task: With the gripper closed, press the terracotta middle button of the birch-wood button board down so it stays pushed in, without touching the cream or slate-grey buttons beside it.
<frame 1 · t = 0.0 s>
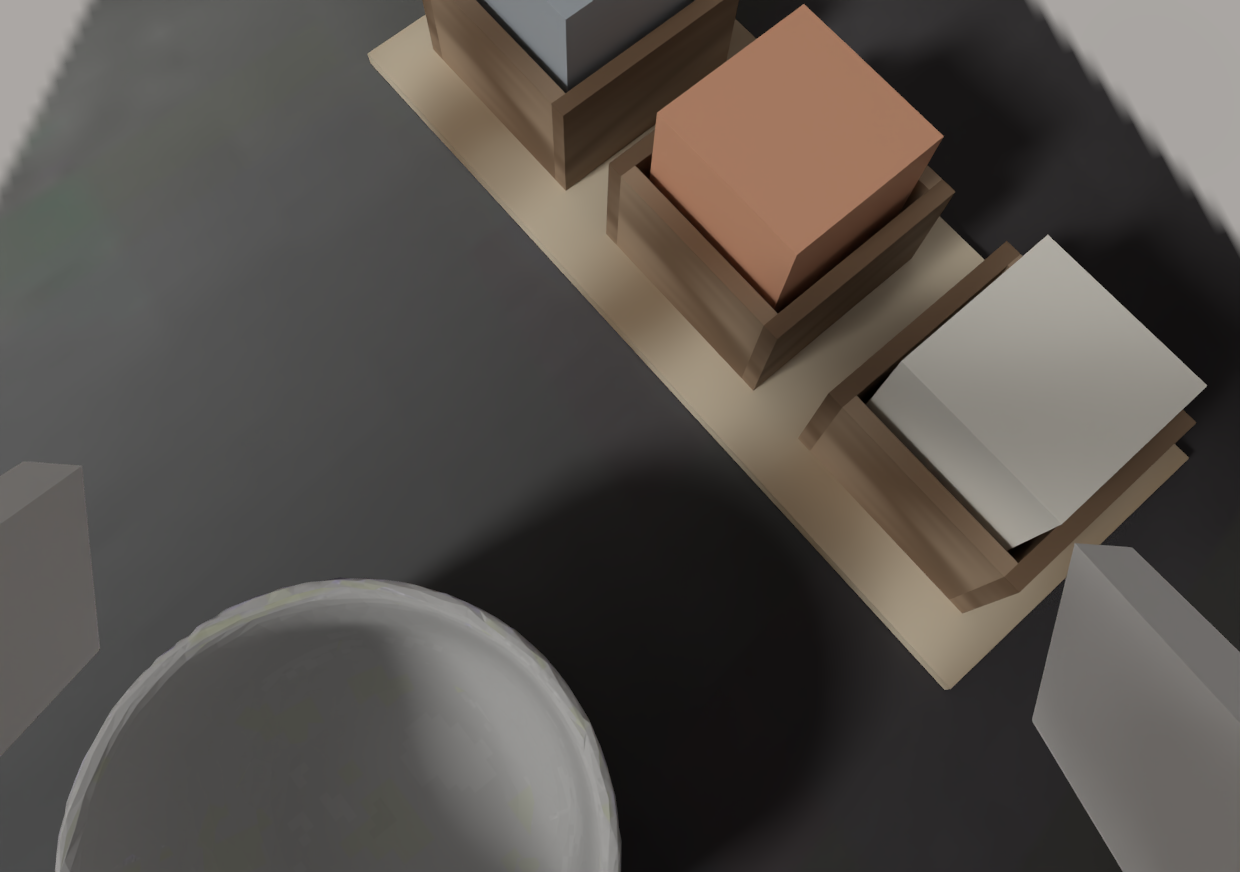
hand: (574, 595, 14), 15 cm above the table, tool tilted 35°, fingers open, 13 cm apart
button cream: (1020, 401, 26), point 5 cm above the table, slide at 0.0 cm
button board: (756, 253, 33), on the table
button terracotta: (785, 167, 28), point 5 cm above the table, slide at 0.0 cm
teacup: (348, 850, 28), on the table
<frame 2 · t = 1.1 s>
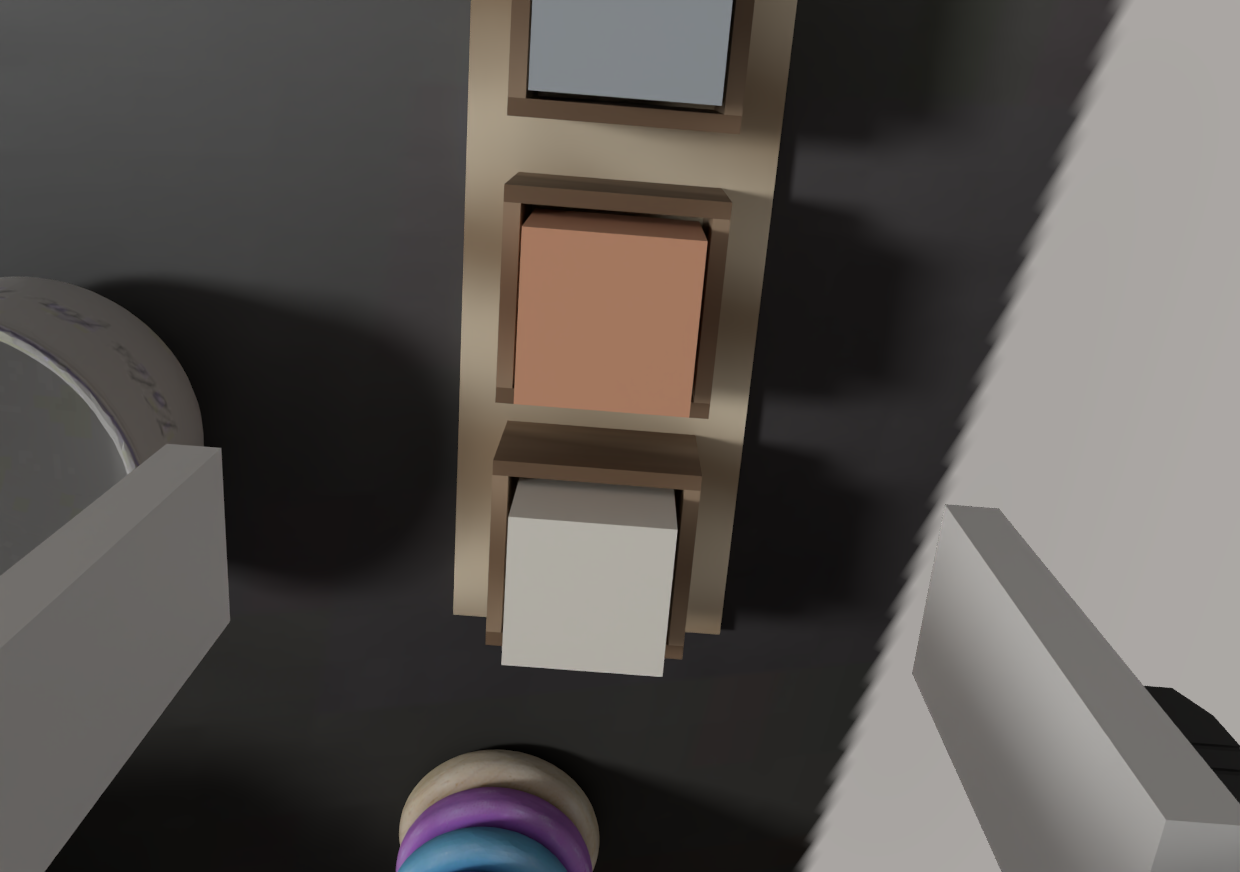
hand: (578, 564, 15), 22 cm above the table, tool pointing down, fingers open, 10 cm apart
button cream: (590, 569, 34), point 5 cm above the table, slide at 0.0 cm
button board: (612, 278, 36), on the table
button terracotta: (609, 309, 31), point 5 cm above the table, slide at 0.0 cm
teacup: (47, 389, 38), on the table
stacking toy: (502, 817, 43), on the table
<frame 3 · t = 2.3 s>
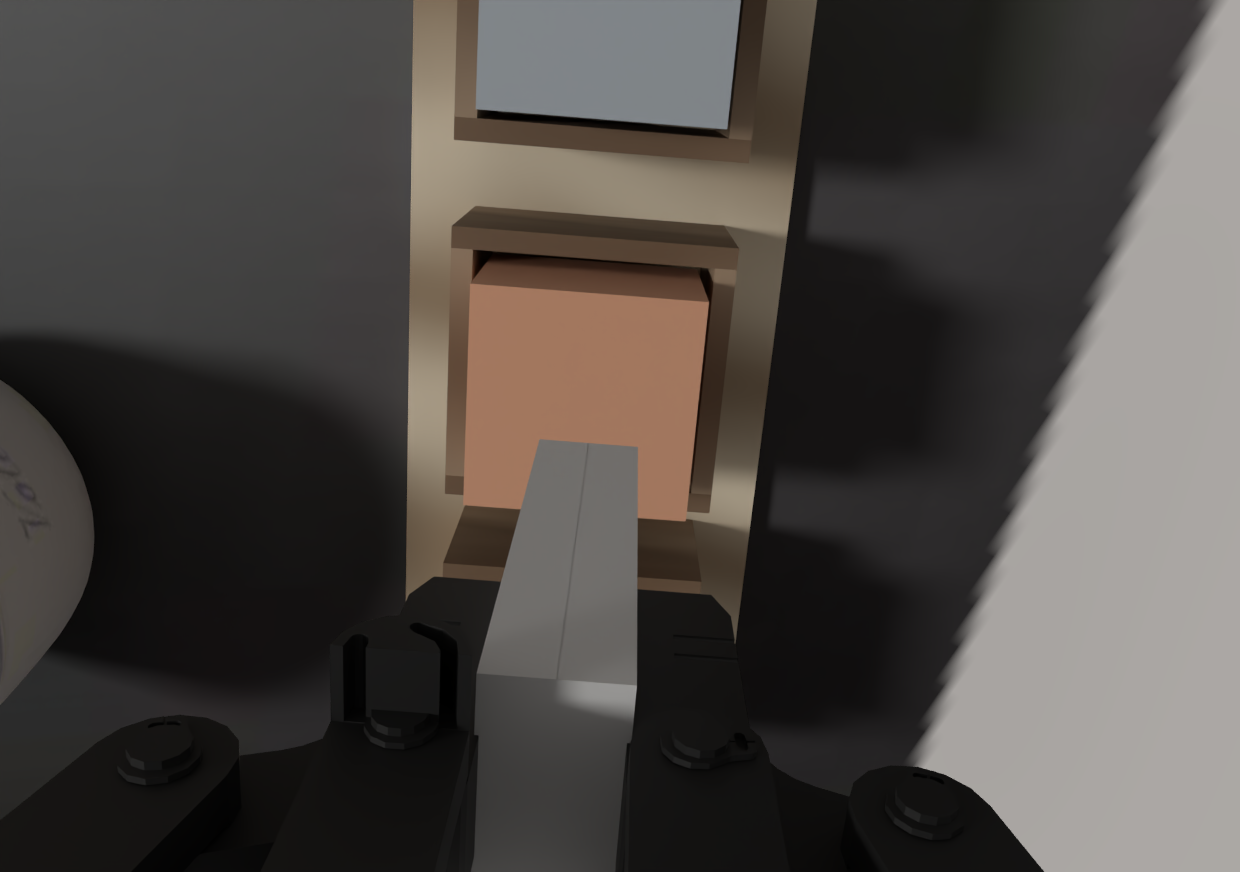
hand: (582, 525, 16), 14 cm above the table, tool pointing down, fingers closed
button board: (592, 332, 29), on the table
button terracotta: (585, 381, 25), point 5 cm above the table, slide at 0.0 cm
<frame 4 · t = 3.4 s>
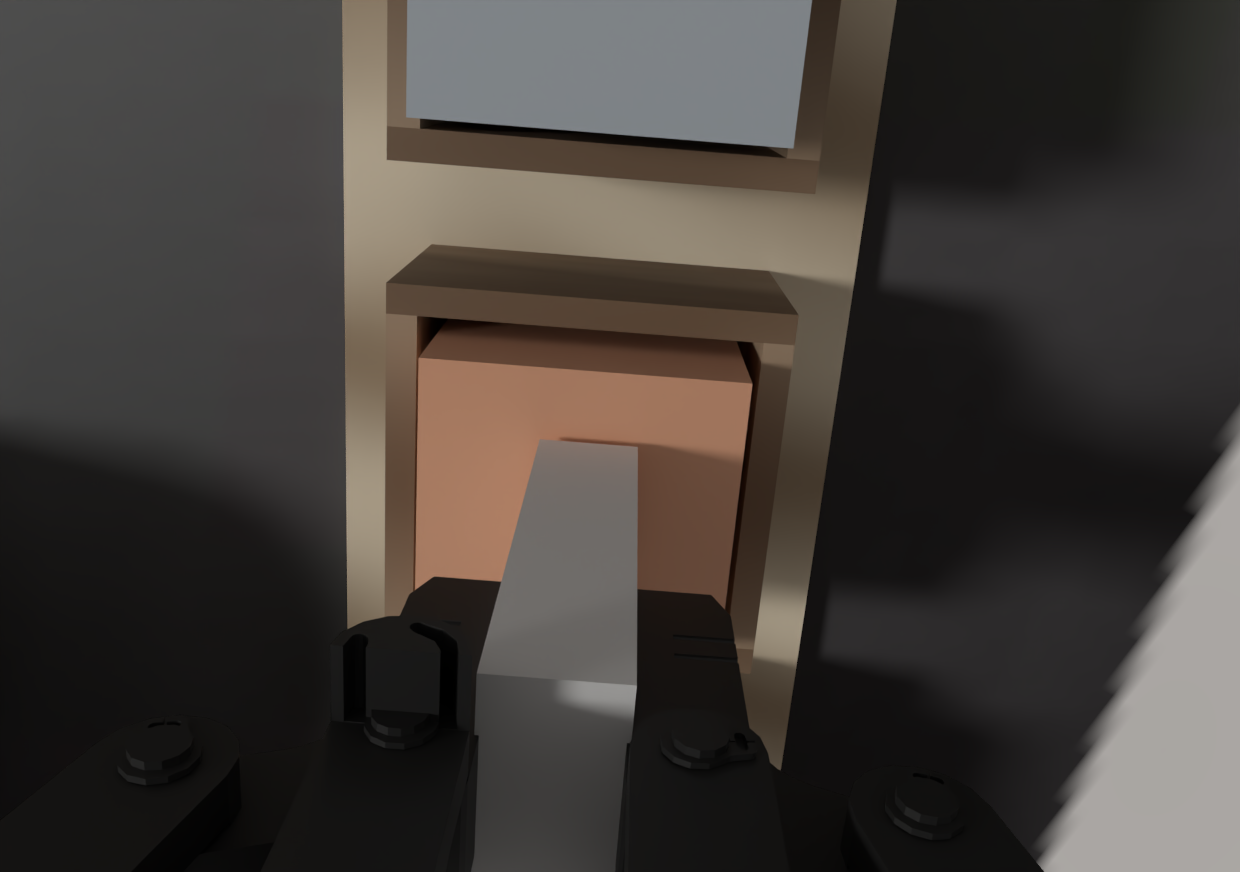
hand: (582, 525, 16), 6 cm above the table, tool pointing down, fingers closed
button board: (590, 410, 22), on the table
button terracotta: (581, 477, 18), point 4 cm above the table, slide at 1.1 cm, touching gripper
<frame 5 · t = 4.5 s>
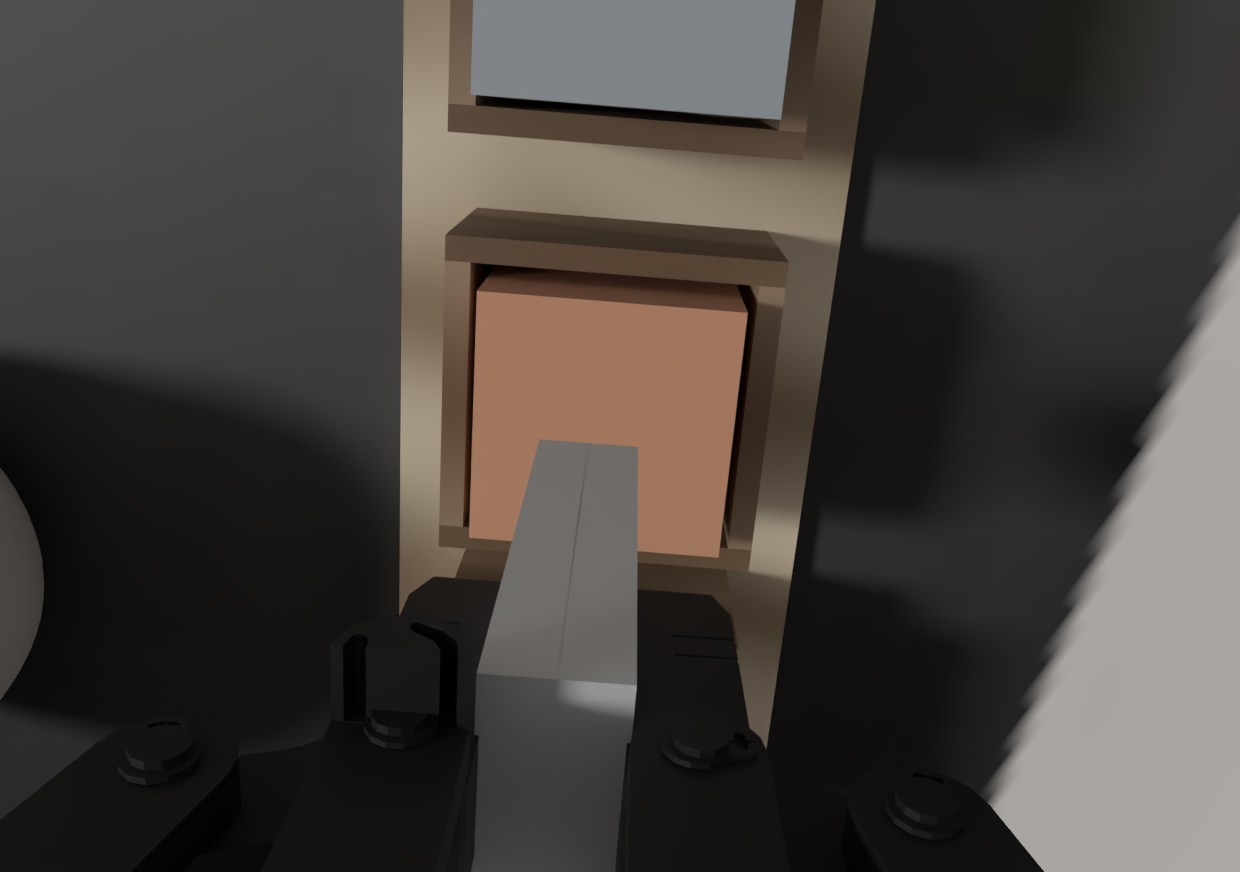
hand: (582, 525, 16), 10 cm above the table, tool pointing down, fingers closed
button board: (611, 353, 26), on the table
button terracotta: (606, 398, 22), point 4 cm above the table, slide at 1.4 cm
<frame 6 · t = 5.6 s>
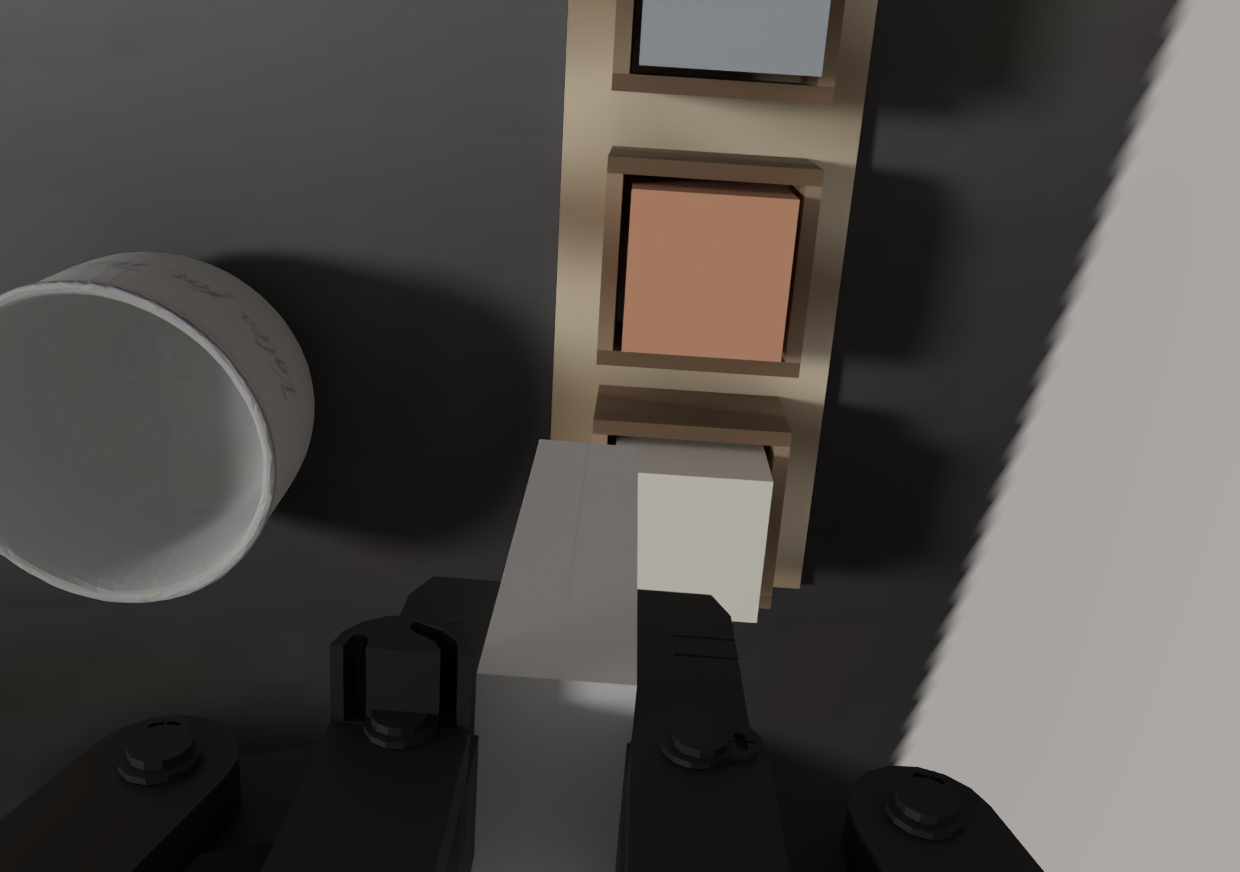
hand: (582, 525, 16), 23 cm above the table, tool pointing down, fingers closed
button cream: (684, 522, 36), point 5 cm above the table, slide at 0.0 cm
button board: (700, 246, 37), on the table
button terracotta: (705, 265, 34), point 4 cm above the table, slide at 1.4 cm
teacup: (162, 360, 40), on the table
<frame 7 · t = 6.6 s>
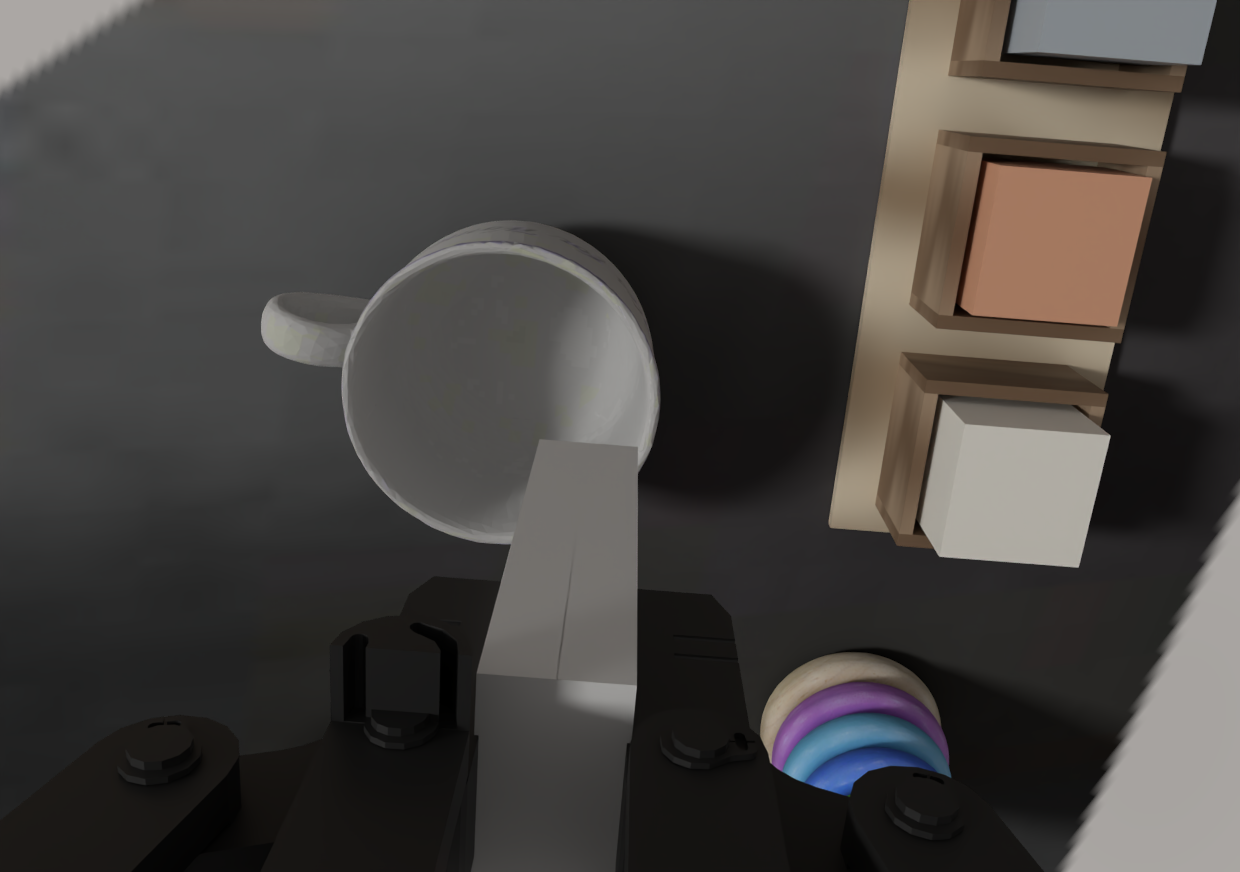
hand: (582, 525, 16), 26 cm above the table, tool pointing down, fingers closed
button cream: (1004, 476, 39), point 5 cm above the table, slide at 0.0 cm
button board: (1005, 224, 41), on the table
button terracotta: (1038, 238, 37), point 4 cm above the table, slide at 1.4 cm
teacup: (488, 325, 43), on the table
stacking toy: (845, 716, 48), on the table
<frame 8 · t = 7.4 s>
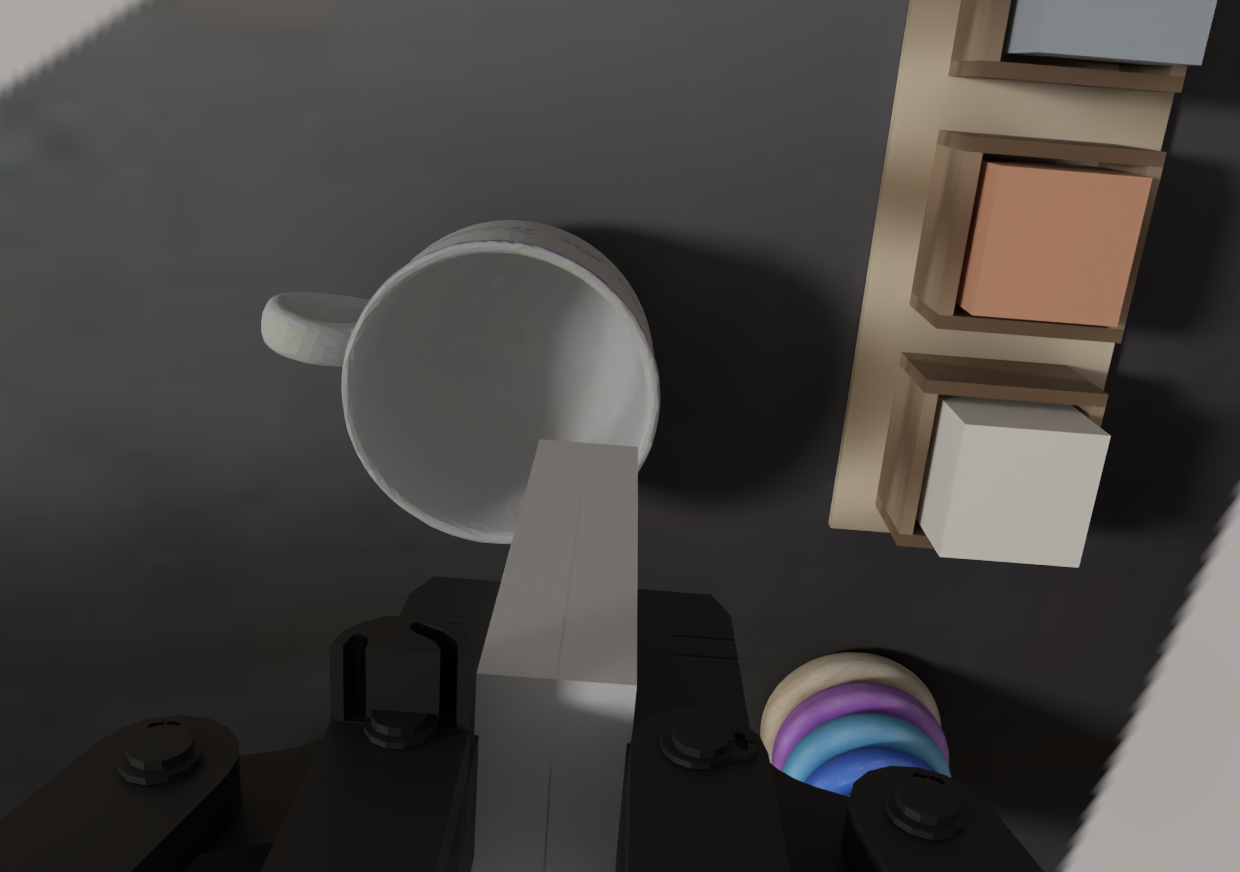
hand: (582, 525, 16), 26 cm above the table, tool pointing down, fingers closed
button cream: (1004, 476, 39), point 5 cm above the table, slide at 0.0 cm
button board: (1005, 224, 41), on the table
button terracotta: (1039, 239, 37), point 4 cm above the table, slide at 1.4 cm
teacup: (488, 325, 43), on the table
stacking toy: (845, 716, 48), on the table
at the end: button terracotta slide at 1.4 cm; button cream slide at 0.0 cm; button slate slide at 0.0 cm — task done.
